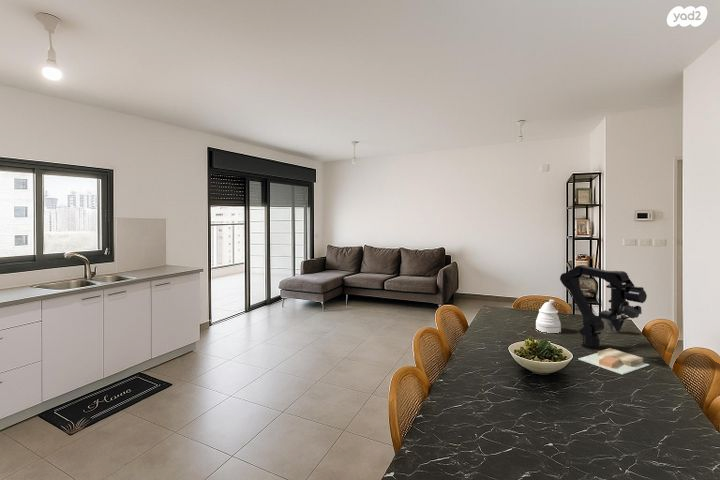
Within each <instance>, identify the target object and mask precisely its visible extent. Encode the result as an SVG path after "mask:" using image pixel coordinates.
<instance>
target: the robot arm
mask: <svg viewBox="0 0 720 480" xmlns="http://www.w3.org/2000/svg"><path fill="white" fill-rule="evenodd" d="M583 276H589V277H594V278H596V279H600V280H601V279H602V280H604V281H605V282H606V283H608V285H606V286H605V287H606V288H607V289H610V299H609V300H608V303H610V307H609V308H608V310H609V311H611V312H609V311H608V310H606V311H605V310H603V311H599V312H598V315H596V314H594V312H593V310H592V308H591V306H590V304H589V302H588V301H587V298H586V297H585V295H584V293H583V290H582V289H581V284H580V283H581V282H580V278H582V277H583ZM559 280H560V282H561V284H562V285H563V287H565V288H566V289H568V291H569V292H570V293H571V294H570V295H571V296H572V298H573V300H574V301H575V304H576V306H577V307H578V310H579V312H580V314H581V316H582V325H583V327H582V328H580V329H579V330H578V331H579V333H580V335H581V336H582V343H581V344H580V346H581V347H584V348H587V349H590V350H596V349H599V348H601V347H602V346H601V345H600V338H599V335H601V334H602V332H603V331H604V330H605V322H604V321H603V320H602V319H604V320H606V319H607V320H610V321H611V322H612V324H613V328H614V329H615V332H616V333H619V332H621V330H622V328H623V324H624V322H625V321H626V320H629V319H636V318H639V316H640V315H641V314H642V306H640V305H635V306H633V305H630V302H634V303H635V302H636V303H639V304H643V303H645V302H646V300H647V299H648V298H647V297H648V295H647V293H646V291H645V288H644V287H642V286H635V284H634V283H633V281H632V280H631V279H630V278H629V275H628V273H627V272H626V271H623V270H622V271H621V270H605V269H601V268H600V269H599V268H597V267H591V266H586V265H583V264H581V265H577V266H575V267H573V268H572V269H570V270H568V271H566V272H564V273H562V274H561V275H560V276H559Z"/></svg>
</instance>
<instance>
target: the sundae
mask: <svg viewBox="0 0 720 480" xmlns="http://www.w3.org/2000/svg"><path fill="white" fill-rule="evenodd" d="M604 311H609V309H608V310H606V309H605V310H604ZM609 312H611V311H609ZM605 320H606V324H607V326H609V330H606V331H605V332H606V333H607V334H610V335H616V334H617V331H614V330H613V328H614V326H613V324H612V322H611V321H610V320H607V319H605Z"/></svg>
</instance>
